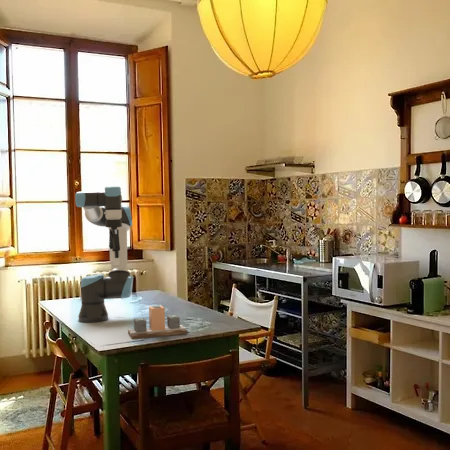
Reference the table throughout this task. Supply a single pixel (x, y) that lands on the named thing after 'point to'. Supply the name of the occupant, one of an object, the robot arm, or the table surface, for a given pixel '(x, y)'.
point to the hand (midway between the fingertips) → (114, 263)
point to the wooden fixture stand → (170, 329)
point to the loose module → (157, 318)
